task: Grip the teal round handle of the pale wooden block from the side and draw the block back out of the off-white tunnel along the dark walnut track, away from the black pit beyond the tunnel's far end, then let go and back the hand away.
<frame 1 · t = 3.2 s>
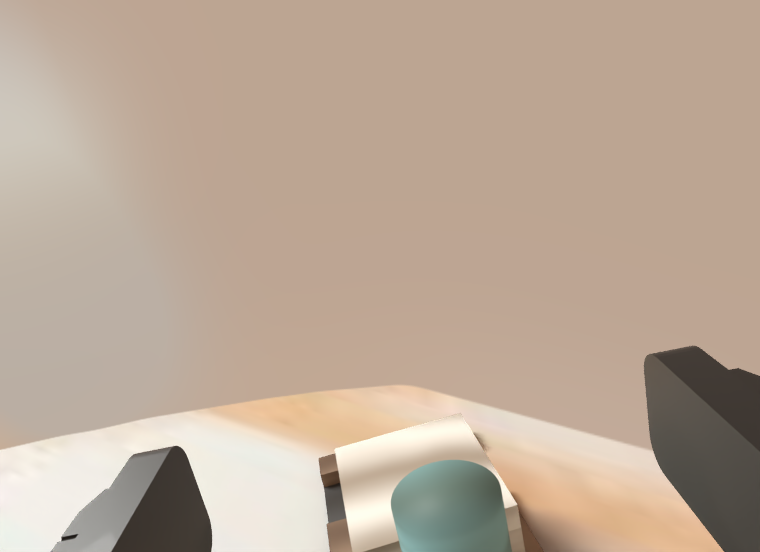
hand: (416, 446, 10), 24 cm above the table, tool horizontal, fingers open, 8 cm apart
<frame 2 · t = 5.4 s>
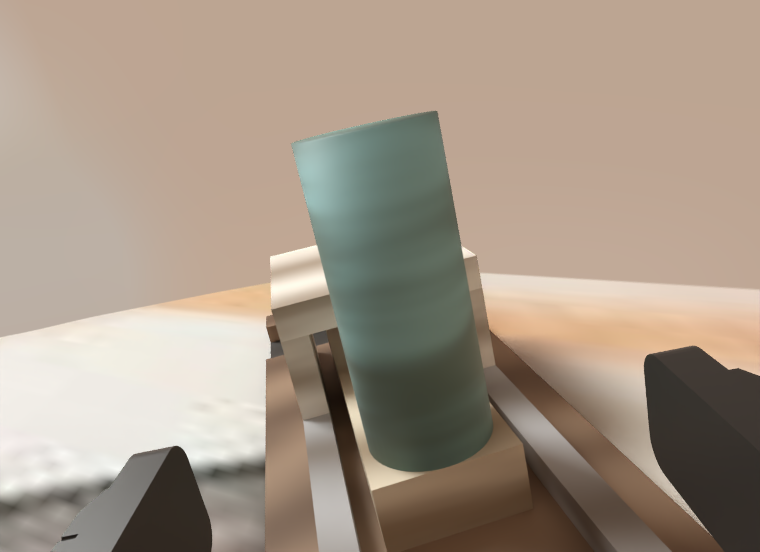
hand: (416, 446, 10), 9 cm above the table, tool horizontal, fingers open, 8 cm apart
tunnel track: (419, 457, 26), on the table
handled block: (406, 414, 26), point 1 cm above the table, touching tunnel track
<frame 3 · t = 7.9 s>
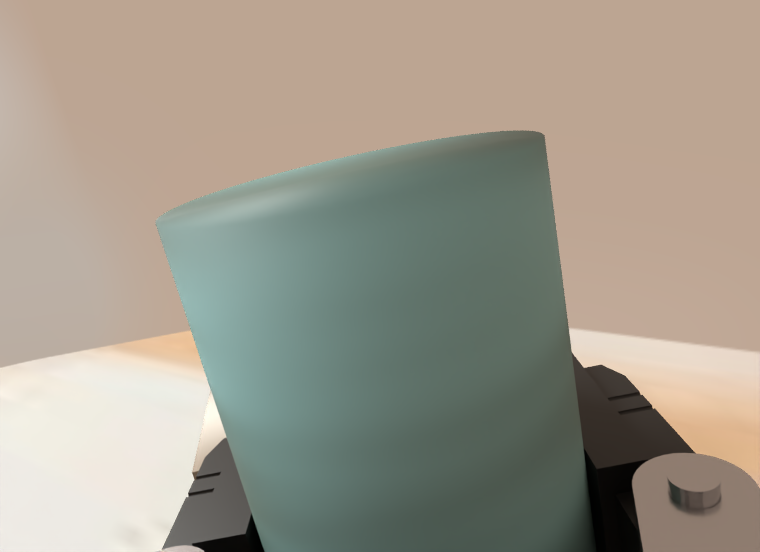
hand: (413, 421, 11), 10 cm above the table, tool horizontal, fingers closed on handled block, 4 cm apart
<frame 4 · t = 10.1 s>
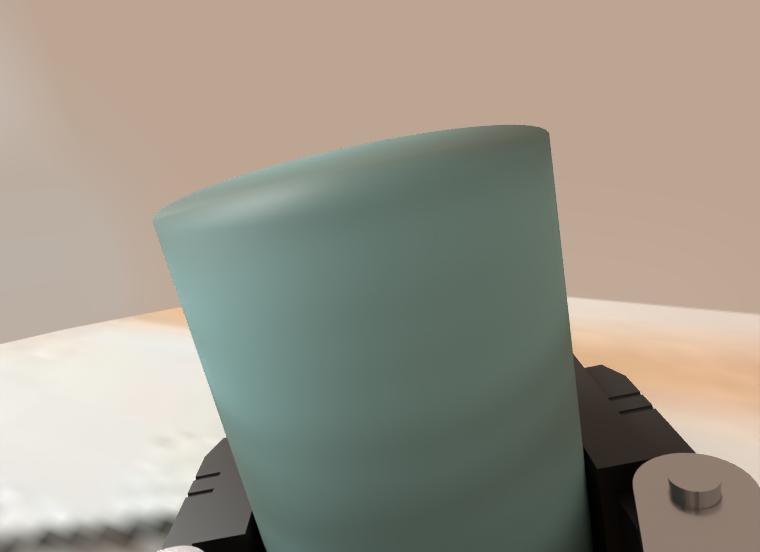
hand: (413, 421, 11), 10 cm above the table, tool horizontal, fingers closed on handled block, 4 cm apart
when the fingers open (10 cm above the table, at t = 12.1 s): handled block stays where it is, resting on tunnel track.
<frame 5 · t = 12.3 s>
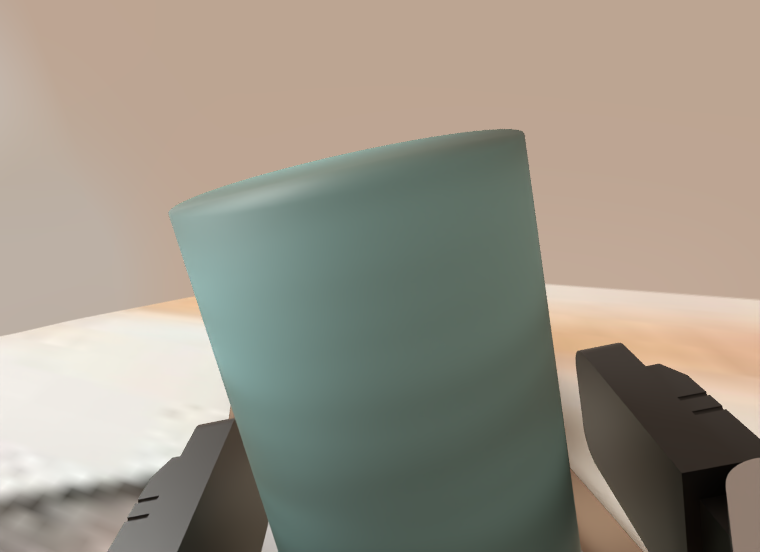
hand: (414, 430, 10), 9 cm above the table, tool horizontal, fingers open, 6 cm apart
tunnel track: (375, 467, 26), on the table
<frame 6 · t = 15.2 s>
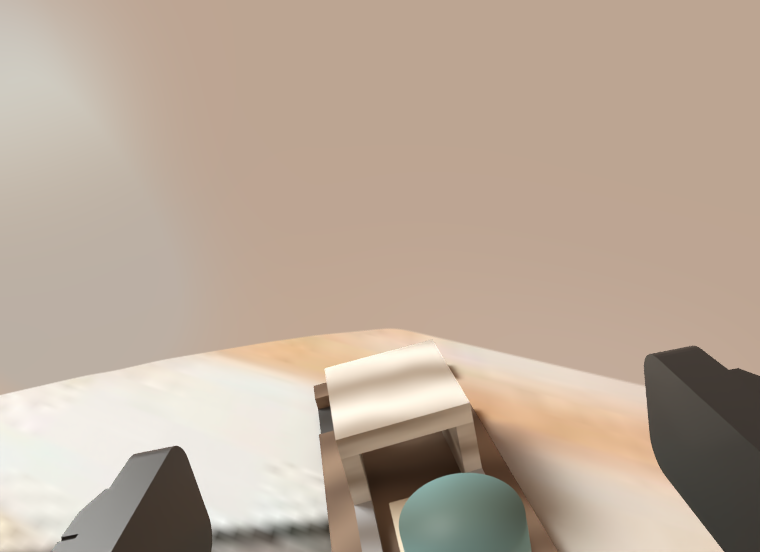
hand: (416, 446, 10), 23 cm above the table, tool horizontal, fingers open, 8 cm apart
tunnel track: (429, 529, 39), on the table
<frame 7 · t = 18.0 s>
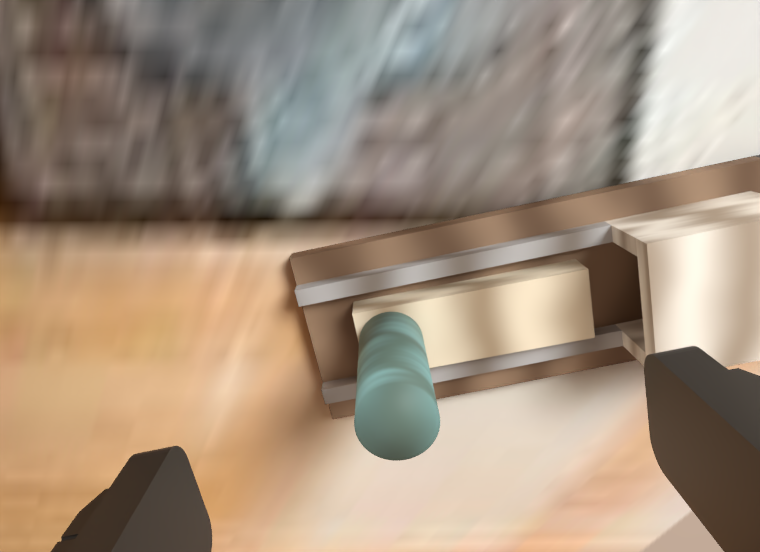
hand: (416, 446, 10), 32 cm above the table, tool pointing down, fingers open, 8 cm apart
tunnel track: (587, 279, 43), on the table
handled block: (468, 313, 42), point 1 cm above the table, touching tunnel track
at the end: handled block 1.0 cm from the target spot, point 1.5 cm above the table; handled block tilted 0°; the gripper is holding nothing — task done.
